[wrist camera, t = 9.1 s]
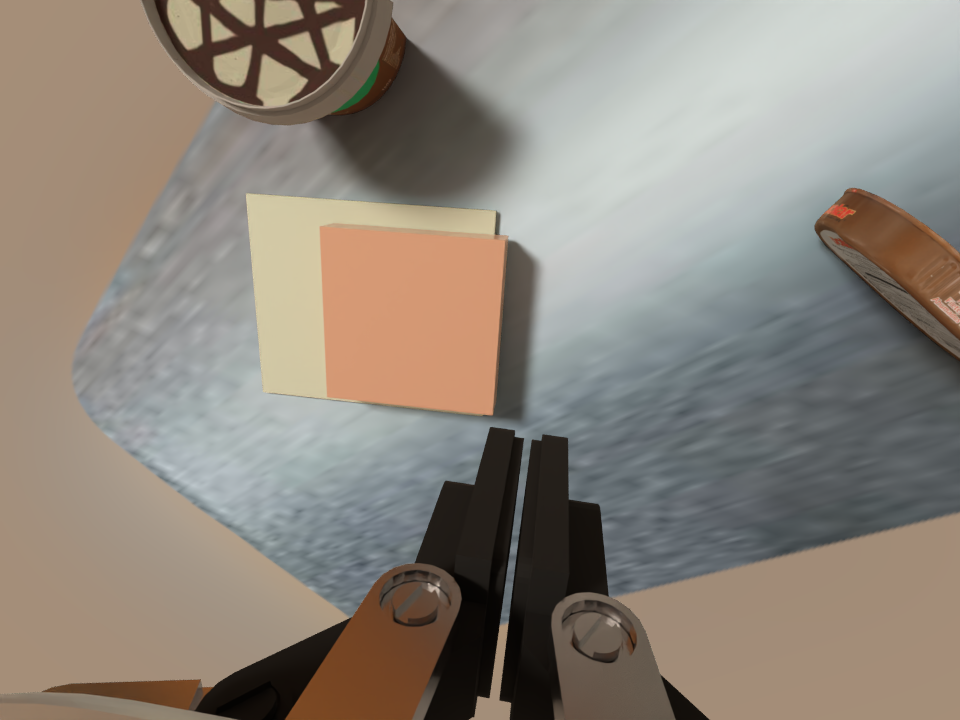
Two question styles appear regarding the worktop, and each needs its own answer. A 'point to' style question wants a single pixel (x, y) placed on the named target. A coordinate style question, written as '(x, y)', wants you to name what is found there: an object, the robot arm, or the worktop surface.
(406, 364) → the tile
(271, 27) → the food container
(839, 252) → the tin
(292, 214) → the mat
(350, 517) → the worktop surface
